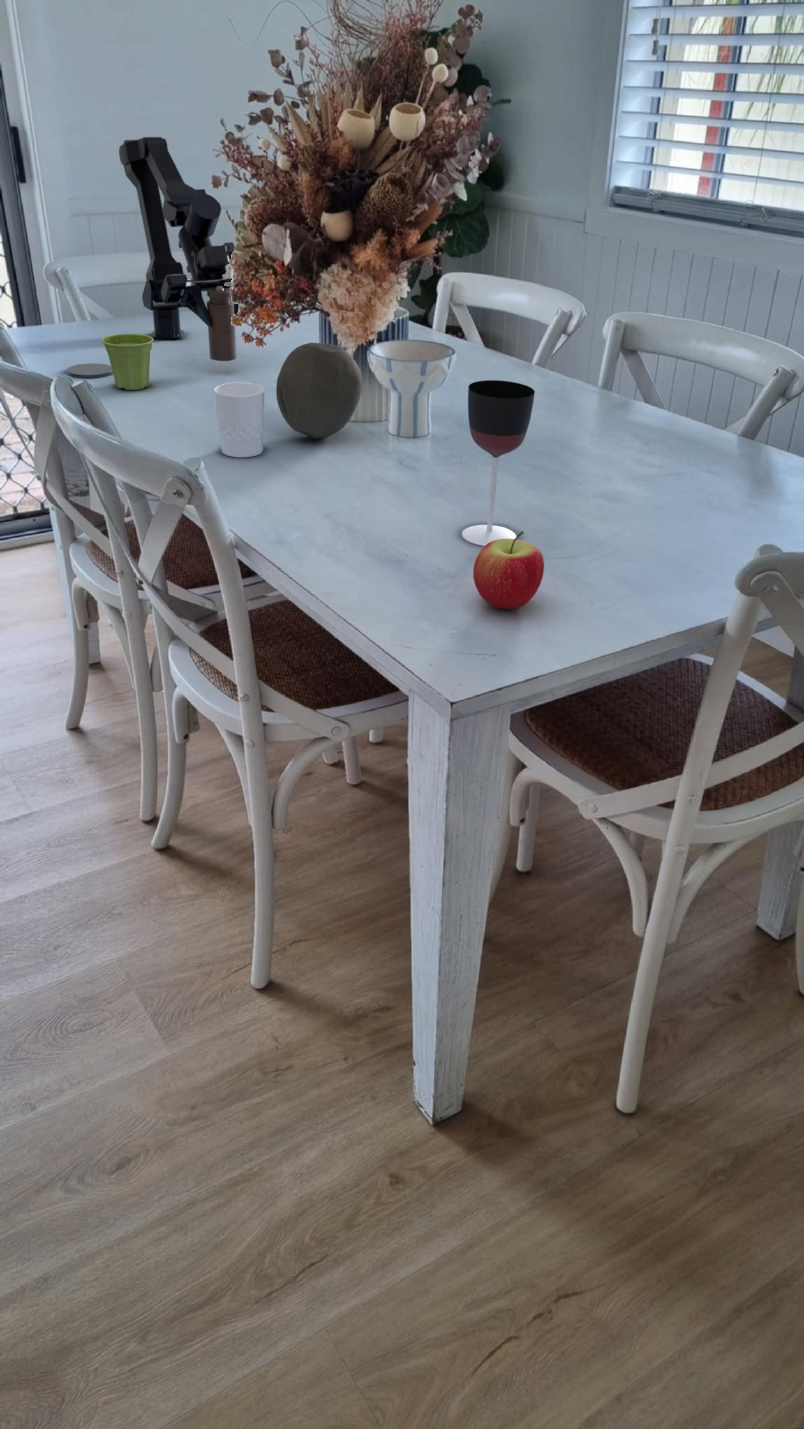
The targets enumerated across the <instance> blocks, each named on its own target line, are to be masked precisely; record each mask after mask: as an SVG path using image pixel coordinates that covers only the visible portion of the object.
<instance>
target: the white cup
mask: <svg viewBox="0 0 804 1429" xmlns="http://www.w3.org/2000/svg"><path fill="white" fill-rule="evenodd" d="M213 395H214V405H215V415H216V422H217V429H218V436H219V440H220V441H219V442H220V450H221V453H222V454H223V455H225V456H227V457H232V458H251V457H255V456H259V455H261V454H262V453H263V451H264V434H265V388H264V387H263V386H262V385H261V384H260V385H259V384H256V383H252V382H241V381H240V382H239V381H237V382H227V383H222V384H219V385H217V386H215V387H214V388H213Z"/></svg>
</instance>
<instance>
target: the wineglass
mask: <svg viewBox="0 0 804 1429" xmlns="http://www.w3.org/2000/svg"><path fill="white" fill-rule="evenodd" d="M467 388H468V389H467V413H468V414H467V415H468V425H469V426H468V427H469V432H470V435H471V436H470V437H471V438H472V440H473V442H474V443H475V444H476V445H477V446H478V447H479V448H480V449H482V450H483V451H485V452H486V453H488V454H490V455H491V456H492V464H491V474H490V488H489V499H488V501H489V502H488V511H487V522H486V524H477V525H476V524H475V525H471V526H468V527H466V528H465V529H463V530H462V532H461V536H462V538H463V539H464V540H465V541H467V542H468V543H472V544H474V545H478V546H483V547H484V546H485V545H486V544H488V543H489V542H492V541H494V540H498V539H515V538H516V537H517V535H516V533H515V532H514V531H512V529H509V528H507V527H504V526H499V525H494V514H495V504H496V503H495V502H496V494H497V493H496V492H497V482H498V468H499V458H500V457H501V456H503V455H506V454H508V453H511V452H513V451H515V450H517V449H518V448H519V447H520V446H521V445H522V444H523V442H524V440H525V438H526V435H527V432H528V429H529V425H530V422H531V418H532V412H533V407H534V400H535V395H536V393H535V392H536V391H535V389H533V388H532V387H530V386H529V385H527V384H524V383H520V382H515V381H508V380H499V379H485V380H477V381H474V382H471V383H469V385H468V387H467Z"/></svg>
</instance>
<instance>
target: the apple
mask: <svg viewBox="0 0 804 1429" xmlns="http://www.w3.org/2000/svg"><path fill="white" fill-rule="evenodd" d="M523 534H524V531H523V530H522V531H520V532H519V533H518V535H516V538H515V539H498V540H494V541H492V542H489V543H488V544H486V545H485V546H483V547H482V548H481V550H480V551H479V552H478V554H477V556H476V558H475V560H474V564H473V568H472V570H473V571H472V575H473V582H474V585H475V588H476V590H477V592H478V594H479V595H480V597H481V599H483V601H485V602H486V603H487V604H489V605H490V606H493V607H494V608H497V609H500V610H501V609H502V610H514V609H519V608H521V607H524V606H525V605H526V604H528V603H529V602H530V601H531V599H532V598H533V597H535V595H536V593H537V592H538V590H539V588H540V586H541V583H542V581H543V578H544V574H545V559H544V555H543V553H542V551H541V549H540V548H538V547H536V546H535V545H533V544H531V543H529V542H527V541H524V540H521V539H519V538H520V537H521V536H522V535H523Z"/></svg>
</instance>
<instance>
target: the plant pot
mask: <svg viewBox="0 0 804 1429" xmlns="http://www.w3.org/2000/svg"><path fill="white" fill-rule="evenodd" d="M154 341H155V339H153V338H152V336H150V335H147V334H141V333H116V334H110V335H108V336H104V337H102V338H101V343H102V344H103V345H104V348H105V352H107V356H108V359H109V364H110V366H111V368H112V372H113V373H112V376H113V379H114V383H115V387H116V388H118V389H125V390H128V391H134V390H142V389H144V388H145V387H147V388H148V387H149V386H150V366H151V365H150V364H151V351H152V347H153V346H152V345H153V343H154Z"/></svg>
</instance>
